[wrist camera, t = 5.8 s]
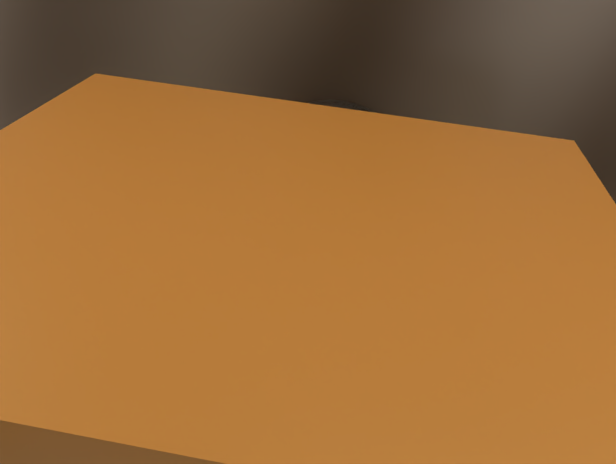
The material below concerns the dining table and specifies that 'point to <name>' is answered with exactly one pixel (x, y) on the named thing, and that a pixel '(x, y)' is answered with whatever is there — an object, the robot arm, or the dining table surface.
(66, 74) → the board
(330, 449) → the tan orange cube
